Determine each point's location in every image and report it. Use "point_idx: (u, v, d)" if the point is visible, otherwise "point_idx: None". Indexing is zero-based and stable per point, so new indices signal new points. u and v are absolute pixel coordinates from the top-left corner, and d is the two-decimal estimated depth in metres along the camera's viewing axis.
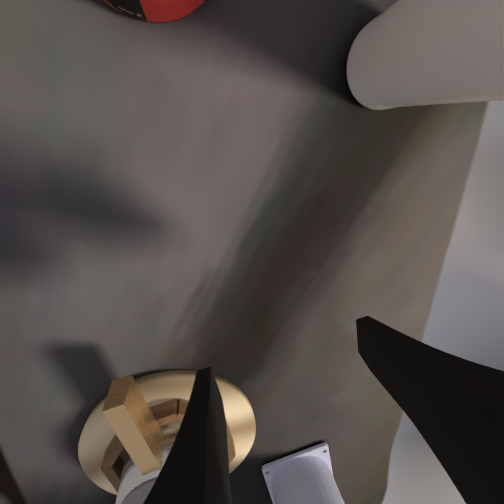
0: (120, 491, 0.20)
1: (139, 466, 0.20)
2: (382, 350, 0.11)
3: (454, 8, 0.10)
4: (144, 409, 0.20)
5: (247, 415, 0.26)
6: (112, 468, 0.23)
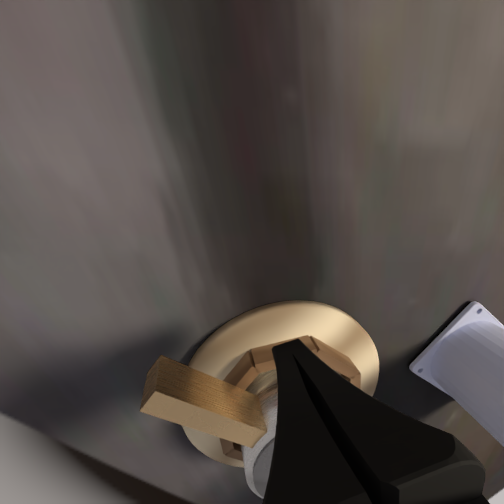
0: (245, 472, 0.17)
1: (239, 441, 0.15)
2: (303, 377, 0.11)
3: None
4: (202, 381, 0.16)
5: (345, 324, 0.20)
6: (236, 449, 0.20)
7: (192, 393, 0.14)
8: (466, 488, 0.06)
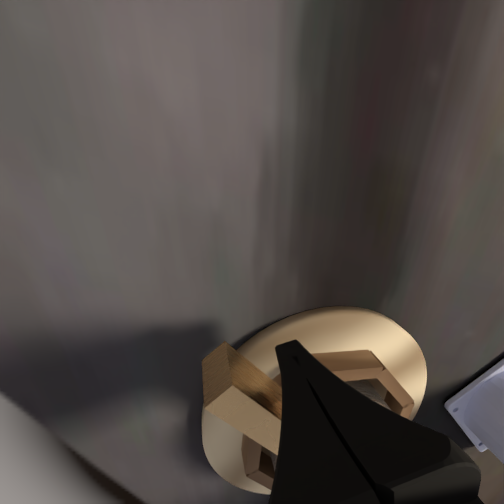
0: None
1: None
2: None
3: None
4: (266, 383, 0.13)
5: (407, 344, 0.18)
6: (260, 470, 0.17)
7: (262, 395, 0.11)
8: (462, 490, 0.06)
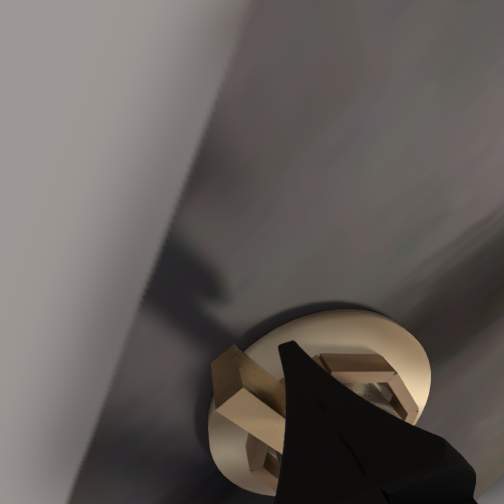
0: None
1: None
2: None
3: None
4: (274, 385, 0.13)
5: None
6: None
7: (271, 397, 0.12)
8: (457, 492, 0.06)
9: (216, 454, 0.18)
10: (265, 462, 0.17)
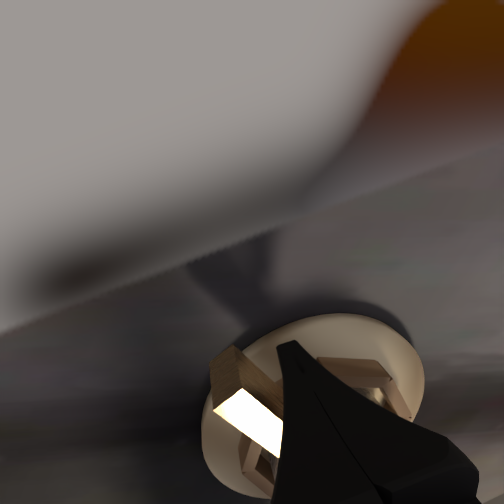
0: None
1: None
2: None
3: None
4: (271, 387, 0.13)
5: None
6: None
7: (269, 399, 0.12)
8: (460, 491, 0.06)
9: None
10: None
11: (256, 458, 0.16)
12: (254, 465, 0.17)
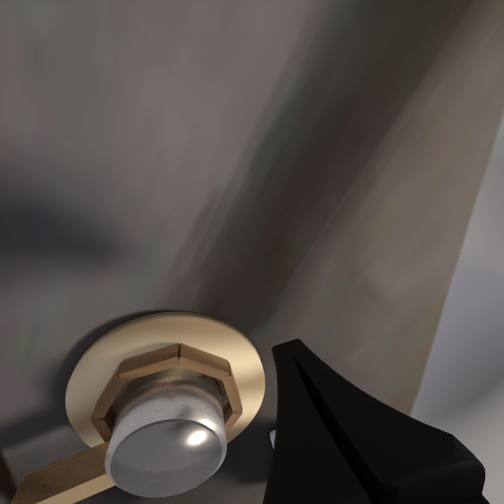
0: None
1: (102, 488, 0.19)
2: (303, 377, 0.11)
3: None
4: (57, 470, 0.20)
5: (256, 368, 0.24)
6: (104, 420, 0.21)
7: (40, 491, 0.19)
8: (466, 488, 0.06)
9: None
10: None
11: None
12: None
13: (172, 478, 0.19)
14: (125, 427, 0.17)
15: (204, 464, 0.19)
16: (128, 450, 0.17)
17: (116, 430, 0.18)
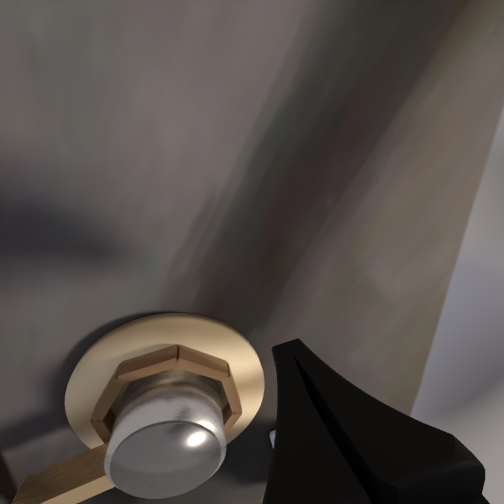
0: None
1: (102, 490, 0.19)
2: (303, 377, 0.11)
3: None
4: (57, 472, 0.20)
5: (255, 369, 0.24)
6: (103, 422, 0.21)
7: (40, 493, 0.19)
8: (466, 488, 0.06)
9: None
10: None
11: None
12: None
13: (171, 479, 0.19)
14: (124, 429, 0.17)
15: (203, 465, 0.19)
16: (127, 452, 0.17)
17: (115, 432, 0.18)
